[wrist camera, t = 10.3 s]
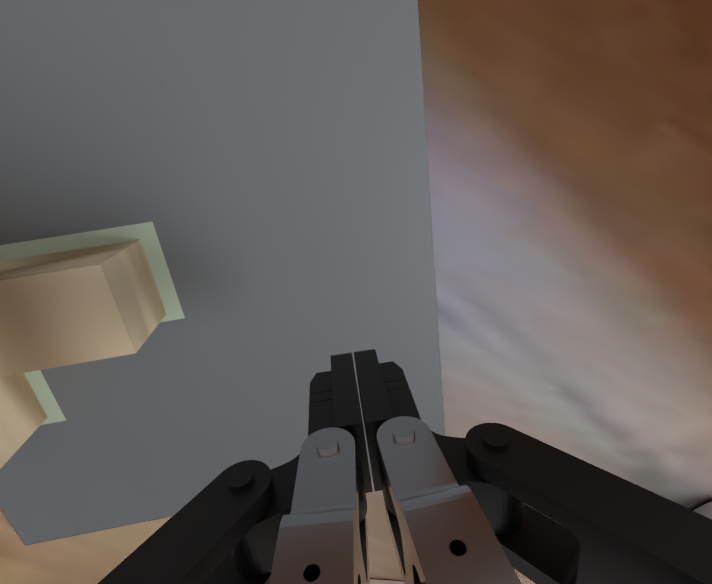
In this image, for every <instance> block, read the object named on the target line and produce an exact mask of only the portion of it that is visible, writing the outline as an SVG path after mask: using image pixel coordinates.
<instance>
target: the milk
mask: <svg viewBox="0 0 712 584" xmlns="http://www.w3.org/2000/svg"><path fill="white" fill-rule="evenodd" d="M369 580H370V584H404V581H390V580H376V579H369Z"/></svg>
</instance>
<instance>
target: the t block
mask: <svg viewBox="0 0 712 584" xmlns="http://www.w3.org/2000/svg"><path fill="white" fill-rule="evenodd" d="M165 315H166V311H165V308H164V306H163V303H162V300H161V297H160V294H159V291H158V289H157V286H156V283H155V280H154V277H153V274H152V272H151V269H150V266H149V263H148V260H147V258H146V255H145V252H144V249H143V246H142V243H141V241H140V239H139V240H132V241H126V242H119V243H113V244H107V245H100V246H94V247H88V248H81V249H75V250H68V251H62V252H56V253H49V254H43V255H37V256H30V257H24V258H17V259H11V260H5V261H0V469H1V468H2V467H3V466H4V464H5V463H6V462H7V461H8V460H9V459H10V458H11V457H12V456H13V455H14V453H15V452H16V451H17V450H18V449H19V448H20V447H21V446H22V445H23V444H24V442H25V441H26V440H27V439H28V438H29V437H30V436H31V435H32V434H33V433H34V432H35V430H36V429H37V428H38V427H39V426H40V425H41V424H42V423H43V422H44V421H45V419H46V418H47V415H46V413H45V411H44V410H43V408H42V406H41V404H40V402H39V400H38V399H37V397H36V395H35V393H34V391H33V389H32V388H31V386H30V384H29V382H28V380H27V378H26V376H25V375H24V373H26V372H32V371H37V370H43V369H49V368H55V367H60V366H66V365H72V364H78V363H84V362H89V361H95V360H101V359H107V358H112V357H118V356H124V355H130V354H135V353H137V351H138V350H139V349H140V347H141V346H142V345H143V343H144V342H145V341H146V340H147V338H148V337H149V336H150V334H151V333H152V332H153V331H154V329H155V328H156V327H157V325H158V324H159V323H160V322H161V320H162V319H163V318H164V316H165Z"/></svg>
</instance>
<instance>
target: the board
mask: <svg viewBox="0 0 712 584" xmlns="http://www.w3.org/2000/svg"><path fill="white" fill-rule="evenodd" d="M139 239H140V241H141V243H142V246H143V249H144V252H145V255H146V258H147V260H148V263H149V266H150V269H151V272H152V274H153V277H154V280H155V283H156V286H157V289H158V291H159V294H160V297H161V300H162V303H163V306H164V308H165V311H166V315H165V316H164V318H163V319H162V320H161V322H160V323H159V324H158V325H157V327H156V328H155V329H154V331H153V332H152V333H151V334H150V336H149V337H148V338H147V340H146V341H145V342H144V343H143V345H142V346H141V347H140V349H139V350H138V351H137V353H135V354H130V355H124V356H118V357H112V358H107V359H101V360H95V361H89V362H84V363H78V364H72V365H66V366H60V367H55V368H49V369H43V370H37V371H32V372H26V373H24V375H25V376H26V378H27V380H28V382H29V384H30V386H31V388H32V389H33V391H34V393H35V395H36V397H37V399H38V400H39V402H40V404H41V406H42V408H43V410H44V411H45V413H46V415H47V418H46V419H45V421H44V422H43V423H42V424H41V425H40V426H39V427H38V428H37V429H36V430H35V432H34V433H33V434H32V435H31V436H30V437H29V438H28V439H27V440H26V441H25V442H24V444H23V445H22V446H21V447H20V448H19V449H18V450H17V451H16V452H15V453H14V455H13V456H12V457H11V458H10V459H9V460H8V461H7V462H6V463H5V464H4V466H3V467H2V468H1V469H0V509H1V511H2V512H3V514H4V515H5V516H6V518H7V519H8V521H9V522H10V524H11V525H12V527H13V528H14V530H15V531H16V533H17V534H18V536H19V537H20V539H21V540H22V542H23V543H24V544H25V545H30V544H35V543H40V542H45V541H50V540H55V539H60V538H65V537H70V536H75V535H80V534H85V533H90V532H95V531H100V530H105V529H110V528H115V527H120V526H125V525H130V524H135V523H140V522H145V521H150V520H155V519H160V518H165V517H170V516H174V515H175V514H176V513H177V512H178V511H179V510H180V509H182V508H183V507H184V506H185V505H186V504H187V503H188V502H189V501H190V500H192V499H193V498H194V497H195V496H196V495H197V494H198V493H199V492H201V491H202V490H203V489H204V488H205V487H206V486H207V485H208V484H209V483H211V482H212V481H213V480H214V479H215V478H216V477H217V476H218V475H219V474H221V473H222V472H223V471H224V470H225V469H227V468H228V467H230V466H232V465H234V464H236V463H238V462H241V461H245V460H258V461H261V462H264V463H265V464H266V465H267V466H268V467H269V468H270V470H271V469H273V468H276V467H278V466H281V465H283V464H285V463H287V462H289V461H291V460H292V459H294V458H295V457H296V456H298V455H299V454H300V450H301V446H302V444H303V442H304V441H305V439H306V438H307V437H308V421H309V396H310V394H309V391H310V382H311V380H312V379H313V377H314V376H315V374H316V373H319V372H326V371H331V358H330V356H331V355H338V354H344V353H351V352H352V357H353V363H354V370H355V376H356V382H357V389H358V395H359V388H358V380H357V373H356V366H355V359H354V352H357V351H364V350H371V349H375V350H376V354H377V358H378V361H379V363H385V362H391V361H393V362H395V363H396V364H397V365H398V366H400V367H401V368H402V369H403V372H404V374H405V377H406V381H407V382H408V385H409V389H410V391H411V393H412V396H413V399H414V401H415V404H416V407H417V410H418V412H419V415H420V418H421V420H422V421H423V422H424V423H426V424H427V425H428V427H429V428H430V430H431V431H433V432H435V433H437V434H439V435H443V436H445V429H444V413H443V397H442V381H441V365H440V349H439V334H438V318H437V302H436V286H435V270H434V254H433V238H432V222H431V207H430V191H429V175H428V159H427V143H426V127H425V111H424V96H423V80H422V64H421V48H420V32H419V16H418V0H0V261H5V260H11V259H17V258H24V257H30V256H37V255H43V254H49V253H56V252H62V251H68V250H75V249H81V248H88V247H94V246H100V245H107V244H113V243H119V242H126V241H132V240H139ZM359 401H360V395H359ZM360 407H361V402H360ZM361 414H362V408H361ZM362 420H363V414H362ZM363 427H364V421H363ZM364 434H365V441H366V449H367V456H368V463H369V470H370V476H372V470H371V464H370V458H369V452H368V445H367V439H366V433H365V427H364Z"/></svg>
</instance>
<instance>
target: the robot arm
mask: <svg viewBox="0 0 712 584" xmlns="http://www.w3.org/2000/svg"><path fill="white" fill-rule="evenodd" d="M330 358H331V371H326V372H319V373H316V374H315V376H314V377H313V379H312V380H311V382H310V391H309V394H310V396H309V421H308V437H307V438H306V439H305V441H304V442H303V444H302V446H301V450H300V454H299V455H298V456H296V457H295V458H294V459H292V460H291V461H289V462H287V463H285V464H283V465H281V466H278V467H276V468H273V469H271V470H270V468H269V467H268V466H267V465H266V464H265V463H264V462H261V461H258V460H245V461H241V462H238V463H236V464H234V465H232V466H230V467H228V468H227V469H225V470H224V471H223V472H222V473H221V474H219V475H218V476H217V477H216V478H215V479H214V480H213V481H212V482H211V483H209V484H208V485H207V486H206V487H205V488H204V489H203V490H202V491H201V492H199V493H198V494H197V495H196V496H195V497H194V498H193V499H192V500H190V501H189V502H188V503H187V504H186V505H185V506H184V507H183V508H182V509H180V510H179V511H178V512H177V513H176V514H175V515H174V516H173V517H172V518H170V519H169V520H168V521H167V522H166V523H165V524H164V525H163V526H162V527H160V528H159V529H158V530H157V531H156V532H155V533H154V534H153V535H151V536H150V537H149V538H148V539H147V540H146V541H145V542H144V543H143V544H141V545H140V546H139V547H138V548H137V549H136V550H135V551H134V552H133V553H131V554H130V555H129V556H128V557H127V558H126V559H125V560H124V561H123V562H121V563H120V564H119V565H118V566H117V567H116V568H115V569H114V570H113V571H111V572H110V573H109V574H108V575H107V576H106V577H105V578H104V579H102V580H101V581H100V582H99V583H98V584H370V580H369V558H368V535H367V519H366V513H367V501H366V494H365V493H367V492H372V485H371V477H370V470H369V463H368V456H367V449H366V441H365V434H364V427H365V433H366V439H367V445H368V452H369V458H370V464H371V470H372V476H373V482H374V489H375V491H379V490H383V496H384V501H385V509H386V516H387V521H388V524H389V528H390V532H391V536H392V539H393V543H394V547H395V551H396V554H397V558H398V562H399V565H400V569H401V573H402V577H403V580H404V584H521V582H520V580H519V578H518V577H517V575H516V573H515V571H514V569H513V568H515V569H516V570H518V571H519V572H520V573H522V574H523V575H525V576H526V577H527V578H529V579H530V580H532V581H533V582H534V583H536V584H712V502H709V503H706V504H704V505H702V506H700V507H698V508H696V509H694V510H693V511H692V510H690V509H688V508H686V507H683V506H681V505H679V504H677V503H675V502H673V501H670V500H668V499H666V498H664V497H662V496H659V495H657V494H655V493H653V492H651V491H648V490H646V489H644V488H642V487H640V486H638V485H635V484H633V483H631V482H629V481H627V480H624V479H622V478H620V477H618V476H616V475H613V474H611V473H609V472H607V471H605V470H603V469H600V468H598V467H596V466H594V465H592V464H589V463H587V462H585V461H583V460H581V459H578V458H576V457H574V456H572V455H570V454H567V453H565V452H563V451H561V450H559V449H557V448H554V447H552V446H550V445H548V444H546V443H543V442H541V441H539V440H537V439H535V438H532V437H530V436H528V435H526V434H524V433H522V432H519V431H517V430H515V429H513V428H511V427H508V426H506V425H502V424H497V423H484V424H479V425H477V426H475V427H473V428H472V429H470V430H469V431H468V433H467V435H466V438H456V437H447V436H443V435H439V434H437V433H435V432H433V431H431V430H430V428H429V427H428V425H427V424H426V423H424V422H423V421H422V420H421V418H420V415H419V412H418V410H417V407H416V404H415V401H414V399H413V396H412V393H411V391H410V389H409V385H408V382H407V381H406V377H405V374H404V372H403V369H402V368H401V367H400V366H398V365H397V364H396V363H395V362H393V361H391V362H385V363H379V361H378V358H377V354H376V350H375V349H371V350H364V351H357V352H354V359H355V366H356V373H357V380H358V388H359V395H360V401H359V395H358V389H357V382H356V376H355V370H354V363H353V357H352V352H351V353H344V354H338V355H331V356H330ZM360 402H361V407H360ZM361 408H362V414H363V420H362V414H361ZM363 421H364V427H363ZM524 503H525V504H524ZM526 504H527V505H526ZM528 505H529V506H528ZM530 506H531V507H532V508H531V507H530ZM533 508H534V509H533ZM535 509H536V510H537V511H536V510H535ZM538 511H539V512H538ZM540 512H541V513H540ZM542 513H543V514H544V515H543V514H542ZM545 515H546V516H545ZM547 516H548V517H549V518H548V517H547ZM550 518H551V519H550ZM552 519H553V520H552ZM554 520H555V521H556V522H555V521H554ZM557 522H558V523H557ZM559 523H560V524H561V525H560V524H559ZM562 525H563V526H562ZM564 526H565V527H564Z"/></svg>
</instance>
